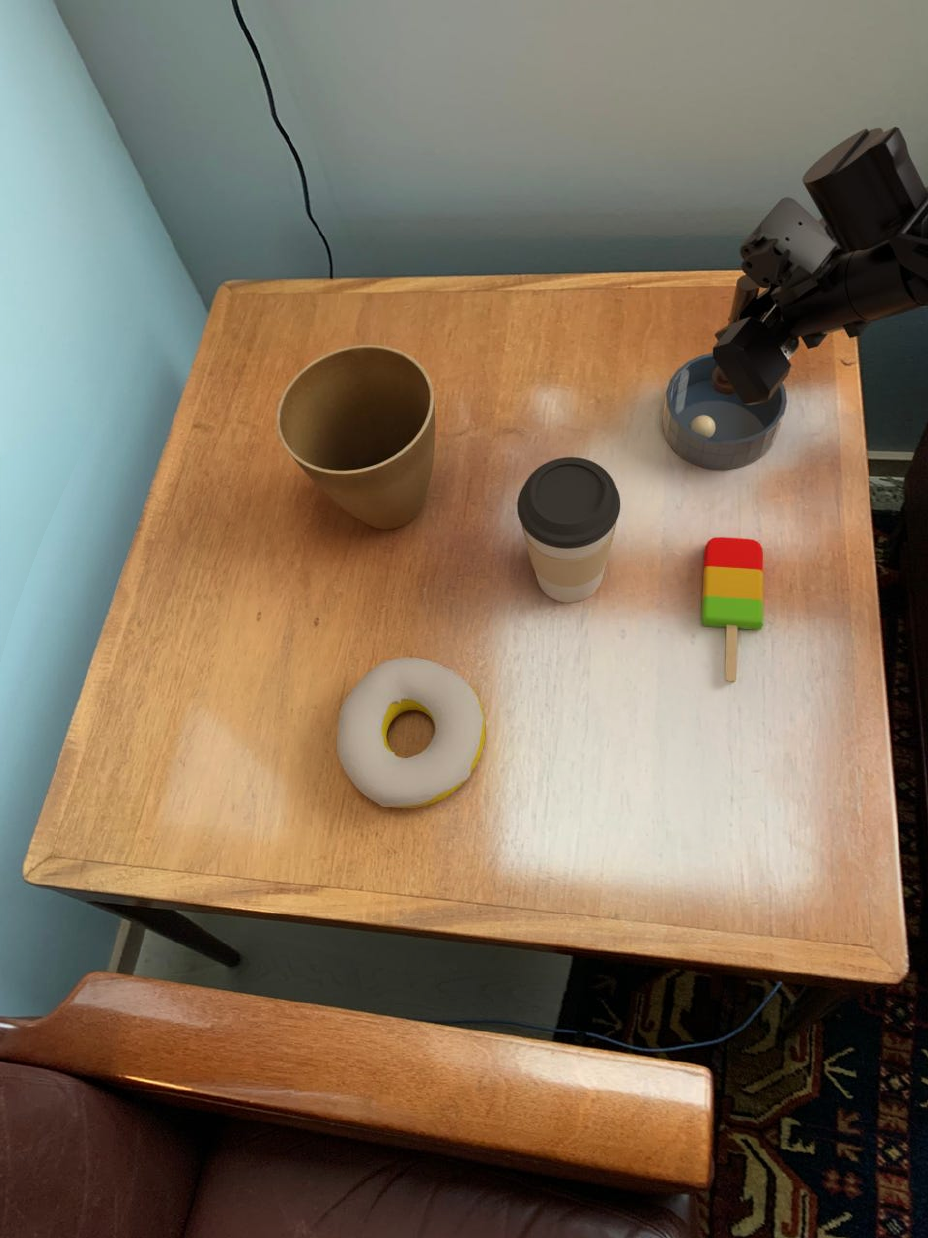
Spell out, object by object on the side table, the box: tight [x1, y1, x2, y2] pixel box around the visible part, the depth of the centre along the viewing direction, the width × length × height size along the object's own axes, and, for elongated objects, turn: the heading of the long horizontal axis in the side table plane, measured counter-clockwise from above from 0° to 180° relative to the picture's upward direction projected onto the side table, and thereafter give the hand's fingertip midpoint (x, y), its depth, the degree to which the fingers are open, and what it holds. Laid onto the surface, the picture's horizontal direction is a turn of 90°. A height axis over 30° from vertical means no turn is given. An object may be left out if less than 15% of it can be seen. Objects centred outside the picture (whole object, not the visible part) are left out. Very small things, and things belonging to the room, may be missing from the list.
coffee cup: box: [516, 456, 621, 604], centre depth 81 cm, size 9×9×15 cm
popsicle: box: [701, 536, 764, 683], centre depth 83 cm, size 6×15×2 cm, turn 172°
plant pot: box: [276, 344, 436, 531], centre depth 87 cm, size 15×15×16 cm
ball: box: [690, 415, 715, 438], centre depth 91 cm, size 3×3×3 cm
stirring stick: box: [711, 274, 761, 395], centre depth 81 cm, size 3×3×13 cm
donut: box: [336, 656, 487, 809], centre depth 80 cm, size 14×14×5 cm
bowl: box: [662, 352, 788, 471], centre depth 91 cm, size 12×12×4 cm
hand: (724, 329), depth 82 cm, fingers closed on stirring stick, 2 cm apart
